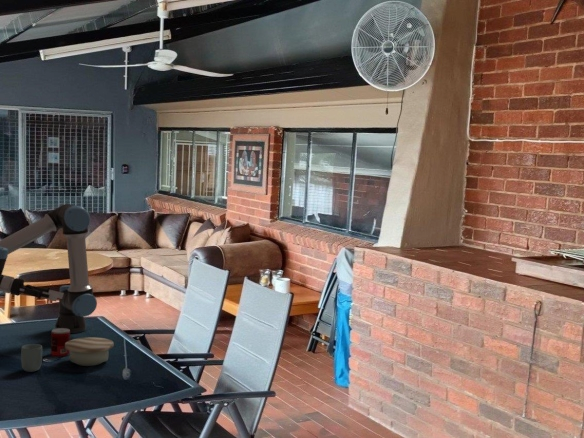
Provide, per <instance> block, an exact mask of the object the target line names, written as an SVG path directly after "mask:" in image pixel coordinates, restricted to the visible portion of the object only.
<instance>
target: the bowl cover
mask: <svg viewBox="0 0 584 438" xmlns="http://www.w3.org/2000/svg"><path fill="white" fill-rule="evenodd" d="M65 348H66V349H67V350H69V352H70V351H73V352H80V353H94V352H102V351H106V350H111V349H112V348H114V341H113V340H111V339H109V338H104V337H93V336H92V337H79V338H73V339H70V341H68V342H66V343H65Z"/></svg>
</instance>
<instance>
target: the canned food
mask: <svg viewBox="0 0 584 438" xmlns="http://www.w3.org/2000/svg"><path fill="white" fill-rule="evenodd" d="M50 336H51V338H50V339H51V340H50V354H51V356H52V357H55V358H61V357H62V358H63V357H67V356H69V355H70V351H69V350H67V349H66V348H65V343H66V342H68V341H70V340H71V333H70V330H69V329H67V328H58V329H55V328H53V329H52V330H51V333H50Z"/></svg>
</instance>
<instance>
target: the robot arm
mask: <svg viewBox="0 0 584 438" xmlns="http://www.w3.org/2000/svg"><path fill="white" fill-rule="evenodd" d="M90 224H91V215H90V213H89V211H88V210H87V209H85V208H84V207H83V206H81V205H75V204H70V203H67V204H66V203H65V204H62V205H60V206H57V207H56V208H55V209H52V210H51V211H49V212H47V213H46V214H44V217H41V218H40V219H38V220H36V221H35V222H32V223H30V224H29V225H27V226H25V227H24V228H22V229H20V230H18V231H16V232H14V233H12V234H10V235H8V236H6V237H5V238H2V239H0V292H1V293H2V294H3V295H5V294H11V295H13V296H20V295H21V294H25V295H29V296H31V297H35V298H37V299H38V300H40V299H41V298H42V299H44V300H49V301H54V302H57V300H58V299H59V300H58V317H57V320H56V322H55V325H54V329H58V328H67V329H69V330H70V334H78V333H83V332H85V331H86V330H87V324H86V320H85V318H84V317H89V316H91V315H92V314H93V313H94V312H95V311H96V309H97V305H98V301H97V299H96V297H95V295H94V292H93V291H94V289H93V286H92V285H91V284H90V283H89V281H90V280H89V268H88V255H87V243H86V236H87V234H88V233H89V226H90ZM61 229H62V235H63V236H64V237H65V238H66V245H67V246H66V248H67V259H68V260H67V261H68V271H69V281H70V284H69V285H61V286H60V287H59V291H56V290H52V289H51V288H50V287H47V288H45V287H39V286H35V285H31V284H26V285H25V281H24V279H22V278H18V277H14V276H10V275H6V274H3V272H4V269H5V266H6V265H5V264H6V262H7V259H8V255H10V254H12V253H13V252H17V250H19V249H21V248H23V247H24V246H27V245H28V244H30V243H32V242H35V240H37V239H39V238H41V237H43V236H45V235H47V234H48V233H51V232H57V231H59V230H61Z"/></svg>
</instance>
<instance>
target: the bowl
mask: <svg viewBox="0 0 584 438" xmlns="http://www.w3.org/2000/svg"><path fill="white" fill-rule="evenodd" d="M109 350H110V349H109ZM109 350H106V351H102V352H94V353H80V352H73V351H69V361H70V362H71V363H73V364H75V365H77V366H83V367H93V366H94V367H95V366H98V365H100V364H102V363H105V362H107V361H108V360H109Z"/></svg>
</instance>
